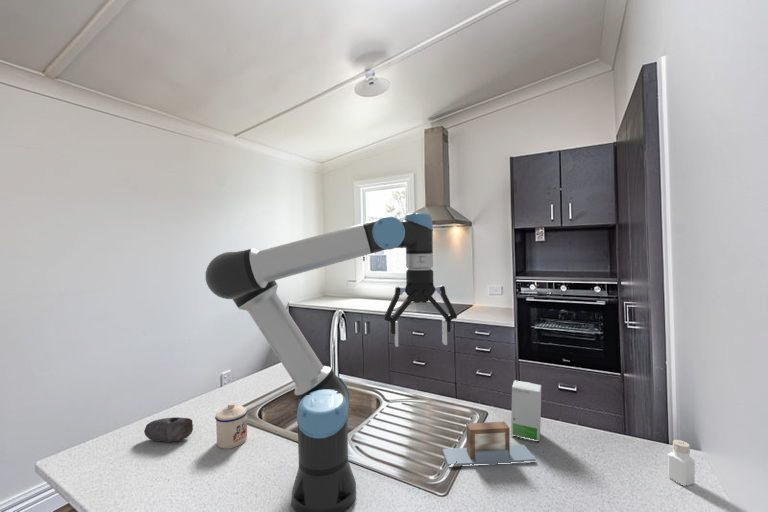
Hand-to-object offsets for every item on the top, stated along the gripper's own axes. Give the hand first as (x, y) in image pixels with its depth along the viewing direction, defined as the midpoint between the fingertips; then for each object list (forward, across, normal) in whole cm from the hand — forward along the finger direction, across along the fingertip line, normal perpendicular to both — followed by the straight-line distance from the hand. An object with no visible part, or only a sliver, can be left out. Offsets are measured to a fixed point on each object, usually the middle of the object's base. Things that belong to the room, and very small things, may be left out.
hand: (420, 344), depth 99 cm
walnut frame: (+31, +18, -2) cm, 36 cm away
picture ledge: (+32, +18, -2) cm, 37 cm away
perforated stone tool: (+32, -78, +15) cm, 86 cm away
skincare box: (+32, +34, +8) cm, 47 cm away
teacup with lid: (+32, -57, +14) cm, 67 cm away
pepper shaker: (+32, +62, -16) cm, 72 cm away
